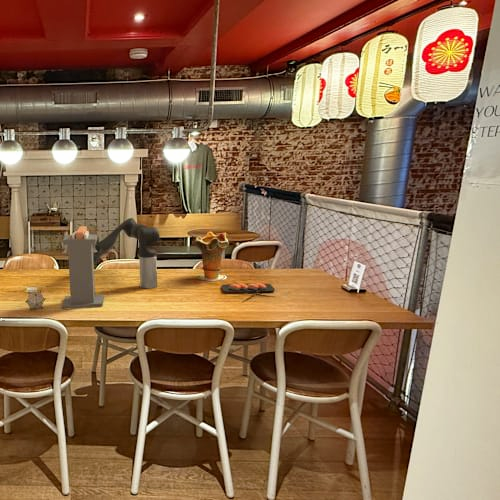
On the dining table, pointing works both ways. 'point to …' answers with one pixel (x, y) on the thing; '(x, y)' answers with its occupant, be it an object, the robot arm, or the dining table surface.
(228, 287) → the sushi plate
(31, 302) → the game die
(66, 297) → the stand
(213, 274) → the decorative vase
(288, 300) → the dining table surface
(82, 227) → the bar
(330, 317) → the dining table surface
